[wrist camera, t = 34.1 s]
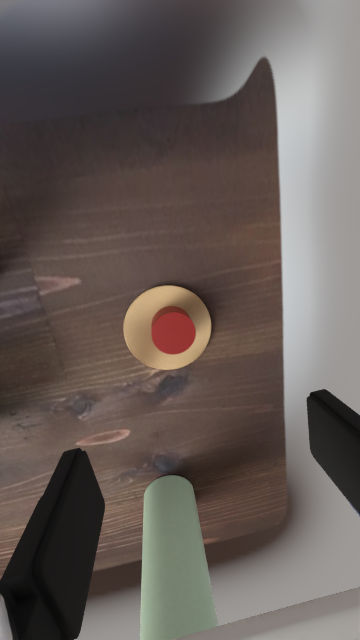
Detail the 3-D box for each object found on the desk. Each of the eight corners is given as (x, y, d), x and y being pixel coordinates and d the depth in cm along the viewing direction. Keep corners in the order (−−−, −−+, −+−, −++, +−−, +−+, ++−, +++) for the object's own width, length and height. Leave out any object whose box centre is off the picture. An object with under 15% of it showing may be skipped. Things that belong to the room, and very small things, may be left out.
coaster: (226, 315, 26) (228, 316, 25) (179, 381, 27) (180, 383, 26) (154, 267, 24) (154, 267, 23) (107, 341, 25) (106, 343, 24)
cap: (158, 300, 24) (159, 306, 21) (196, 312, 25) (201, 319, 22) (146, 338, 25) (145, 348, 22) (183, 348, 25) (187, 359, 23)
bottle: (197, 475, 31) (265, 794, 13) (188, 514, 32) (238, 849, 14) (147, 473, 30) (142, 817, 12) (141, 513, 31) (127, 873, 13)
